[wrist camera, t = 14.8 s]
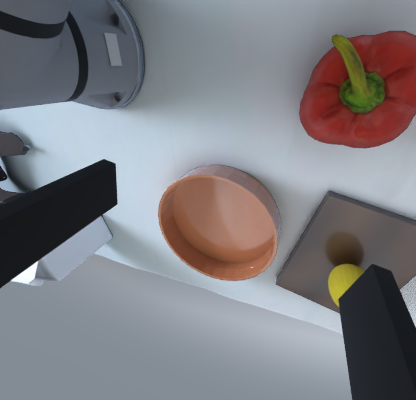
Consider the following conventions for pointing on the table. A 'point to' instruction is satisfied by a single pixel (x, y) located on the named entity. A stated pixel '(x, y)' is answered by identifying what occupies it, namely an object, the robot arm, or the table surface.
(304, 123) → the vegetable
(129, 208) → the table surface
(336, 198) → the board
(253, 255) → the basin
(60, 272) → the milk carton
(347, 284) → the lemon
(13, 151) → the laptop tray
